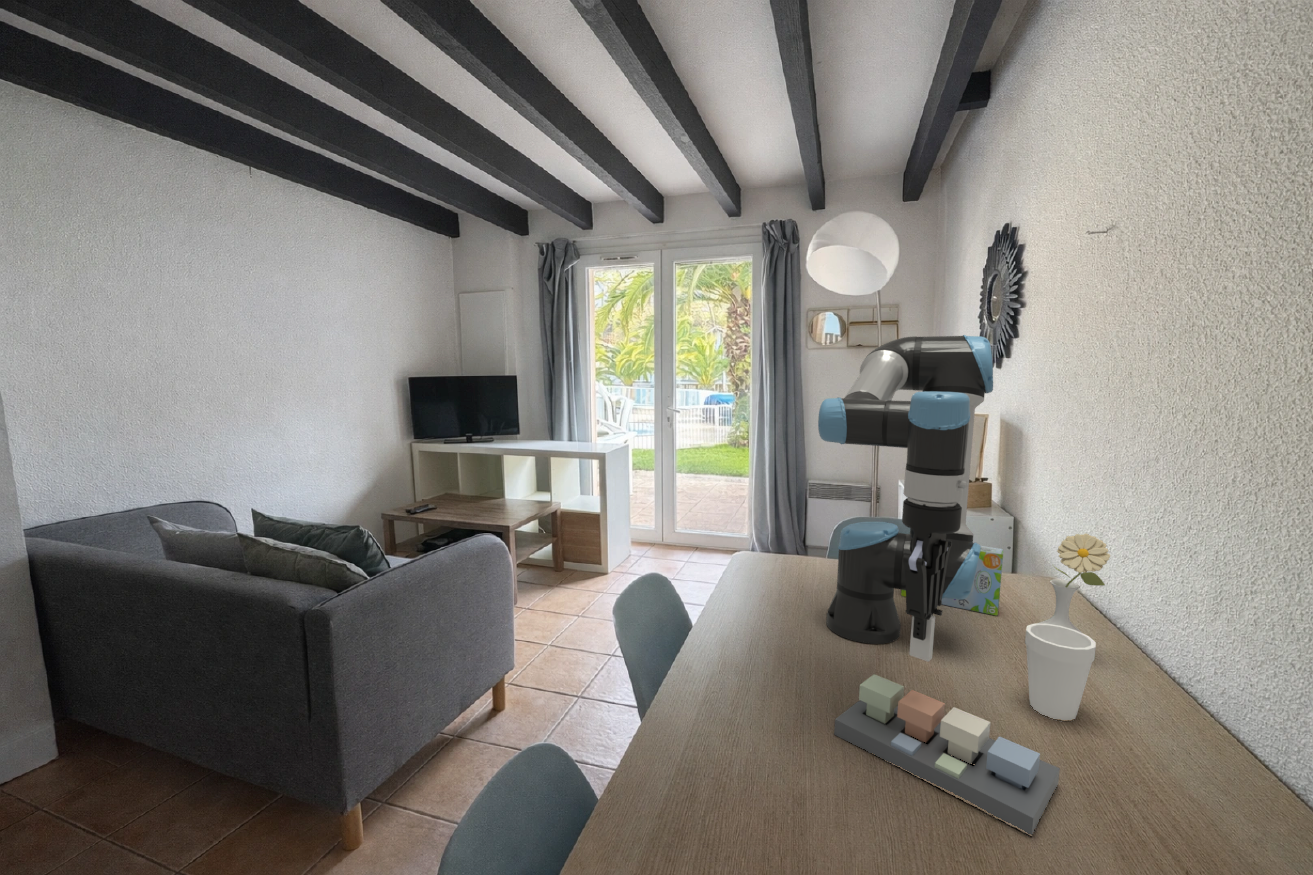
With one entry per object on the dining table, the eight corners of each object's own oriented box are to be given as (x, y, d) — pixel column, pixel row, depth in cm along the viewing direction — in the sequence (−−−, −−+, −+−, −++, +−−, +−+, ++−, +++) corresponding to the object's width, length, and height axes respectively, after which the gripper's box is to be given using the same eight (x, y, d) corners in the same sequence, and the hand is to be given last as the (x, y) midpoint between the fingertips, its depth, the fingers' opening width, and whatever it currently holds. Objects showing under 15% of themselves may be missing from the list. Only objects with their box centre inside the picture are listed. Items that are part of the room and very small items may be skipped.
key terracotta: (896, 732, 84) (898, 701, 83) (909, 719, 87) (912, 689, 86) (929, 748, 80) (932, 716, 80) (942, 734, 84) (945, 703, 83)
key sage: (857, 714, 88) (859, 684, 88) (872, 702, 91) (874, 674, 91) (888, 728, 85) (890, 698, 84) (902, 716, 88) (904, 686, 87)
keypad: (834, 734, 87) (835, 715, 86) (873, 702, 96) (874, 684, 95) (1031, 837, 68) (1033, 813, 68) (1058, 785, 77) (1060, 763, 76)
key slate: (984, 785, 75) (987, 751, 75) (996, 769, 79) (999, 736, 78) (1026, 806, 72) (1029, 770, 71) (1036, 787, 75) (1040, 753, 75)
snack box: (998, 609, 136) (1004, 548, 134) (997, 617, 131) (1003, 554, 130) (903, 589, 147) (907, 533, 146) (899, 596, 142) (903, 538, 141)
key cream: (938, 752, 79) (940, 720, 79) (951, 738, 83) (953, 706, 82) (975, 770, 76) (978, 736, 75) (987, 754, 79) (990, 722, 79)
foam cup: (1067, 733, 88) (1075, 654, 87) (1007, 702, 96) (1014, 629, 95) (1099, 717, 92) (1107, 642, 91) (1039, 689, 101) (1046, 619, 99)
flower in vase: (1012, 640, 119) (1023, 525, 116) (1047, 631, 124) (1058, 520, 121) (1079, 670, 107) (1093, 542, 105) (1115, 659, 112) (1129, 536, 109)
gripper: (945, 513, 73) (931, 684, 76) (975, 497, 83) (962, 650, 86) (887, 503, 78) (877, 663, 81) (921, 489, 88) (911, 633, 91)
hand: (920, 656), depth 84 cm, fingers closed
